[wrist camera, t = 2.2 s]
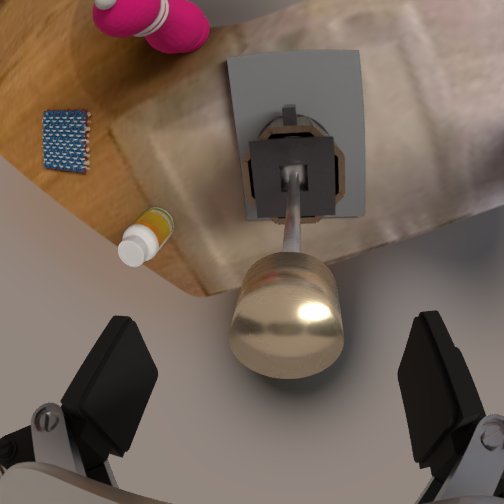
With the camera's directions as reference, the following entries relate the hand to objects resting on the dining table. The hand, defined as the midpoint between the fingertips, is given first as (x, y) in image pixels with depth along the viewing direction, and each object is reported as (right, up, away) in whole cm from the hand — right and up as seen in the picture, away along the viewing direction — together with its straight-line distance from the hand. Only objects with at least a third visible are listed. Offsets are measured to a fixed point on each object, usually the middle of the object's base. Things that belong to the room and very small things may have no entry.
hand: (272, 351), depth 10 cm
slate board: (+6, +18, +27) cm, 33 cm away
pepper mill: (-9, +32, +22) cm, 39 cm away
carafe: (+5, +16, +27) cm, 32 cm away
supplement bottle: (-15, +8, +36) cm, 40 cm away
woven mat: (-30, +22, +31) cm, 49 cm away
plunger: (+3, +10, +18) cm, 21 cm away
